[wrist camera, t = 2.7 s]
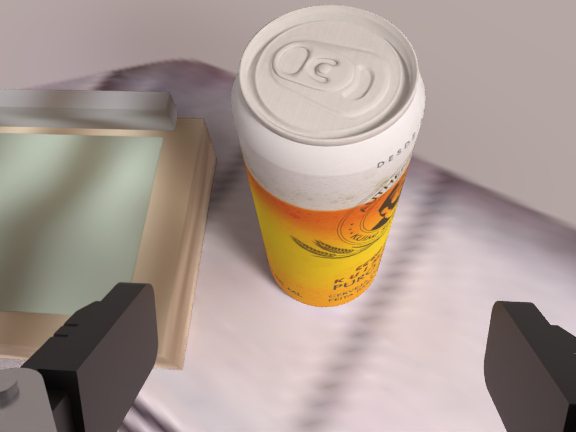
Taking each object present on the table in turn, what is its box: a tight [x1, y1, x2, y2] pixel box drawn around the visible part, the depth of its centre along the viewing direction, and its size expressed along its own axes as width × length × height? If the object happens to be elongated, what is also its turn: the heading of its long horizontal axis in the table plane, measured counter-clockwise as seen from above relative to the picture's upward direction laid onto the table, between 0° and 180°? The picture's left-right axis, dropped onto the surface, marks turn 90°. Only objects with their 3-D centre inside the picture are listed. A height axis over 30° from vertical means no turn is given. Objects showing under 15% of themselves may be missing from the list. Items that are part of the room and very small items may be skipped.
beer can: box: [231, 5, 426, 307], centre depth 21 cm, size 6×6×15 cm
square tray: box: [0, 89, 216, 370], centre depth 27 cm, size 14×13×6 cm
